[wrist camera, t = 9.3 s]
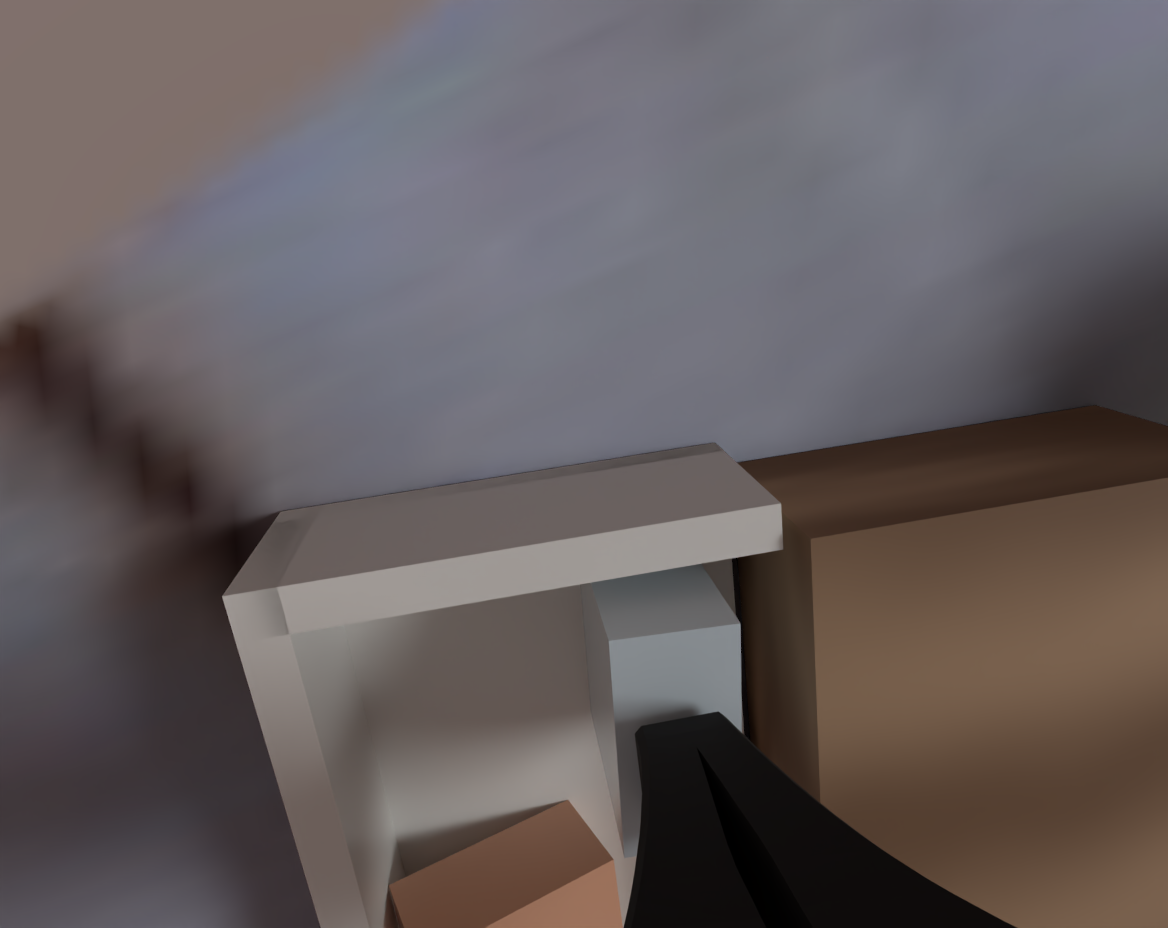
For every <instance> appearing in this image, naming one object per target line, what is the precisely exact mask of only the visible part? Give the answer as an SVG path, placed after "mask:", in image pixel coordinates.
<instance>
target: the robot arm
mask: <svg viewBox="0 0 1168 928" xmlns="http://www.w3.org/2000/svg"><path fill="white" fill-rule="evenodd" d="M635 740H636V749H637V757H638V765H639V773H640V781H641V789H642V803H641V823H640V834H639V842H638V849H637V857H636V864H635V871H634V878H633V884H632V889H631V895H630V900H629V905H628V910H627V914H626V919H625V923H624V928H1017V927H1015V926H1013V925H1011V924H1009V923H1007V922H1005V921H1003V920H1001V919H999V918H997V917H995V916H994V915H992V914H990V913H988V912H986V911H984V910H983V909H981V908H979V907H977V906H975V905H973V904H971V903H970V902H968V901H966V900H964V899H962V898H960V897H959V896H957V895H955V894H953V893H951V892H949V891H948V890H946V889H944V888H943V887H941V886H939V885H937V884H936V883H934V882H932V881H931V880H929V879H927V878H926V877H924V876H922V875H921V874H919V873H918V872H916V871H914V870H913V869H911V868H910V867H908V866H907V865H905V864H904V863H902V862H900V861H899V860H897V859H896V858H894V857H893V856H891V855H890V854H888V853H887V852H885V851H884V850H882V849H881V848H879V847H878V846H877V845H875V844H874V843H872V842H871V841H870V840H868V839H867V838H865V837H864V836H863V835H861V834H860V833H859V832H857V831H856V830H855V829H853V828H852V827H851V826H849V825H848V824H847V823H845V822H844V821H843V820H841V819H840V818H839V817H837V816H836V815H835V814H834V813H832V812H831V811H830V810H829V809H827V808H826V807H825V806H824V805H822V804H821V803H820V802H819V801H817V800H816V799H815V798H814V797H813V796H811V795H810V794H809V793H808V792H807V791H805V790H804V789H803V788H802V787H801V786H800V785H798V784H797V783H796V782H795V781H794V780H793V779H791V778H790V777H789V776H788V775H787V774H786V773H784V772H783V771H782V770H781V769H780V768H779V767H778V766H777V765H775V764H774V763H773V762H772V761H771V760H770V759H769V758H768V757H767V756H766V755H765V754H764V753H762V752H761V751H760V750H759V749H758V748H757V747H756V746H755V745H754V744H753V743H752V742H751V741H750V740H749V739H748V738H747V737H746V736H745V735H744V734H743V733H742V732H741V731H740V730H738V729H737V728H736V727H735V726H734V725H733V724H732V723H731V722H730V721H729V720H728V719H727V717H725V716H724V715H723V714H721V713H720V712H719V711H717V712H712V713H707V714H702V715H696V716H691V717H686V718H680V719H675V720H670V721H665V722H659V723H654V724H649V725H643V726H641V727H640V728H639V729H638V730H637V731H636V733H635Z"/></svg>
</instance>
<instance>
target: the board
mask: <svg viewBox="0 0 1168 928" xmlns="http://www.w3.org/2000/svg"><path fill="white" fill-rule="evenodd" d="M738 464H739V465H740V466H741V467H742V468H743V469H744V470H745V471H746V472H748V473H749V474H750V475H751V476H752V477H753V478H754V479H755V480H756V481H757V482H758V483H760V484H761V485H762V486H763V487H764V488H765V489H766V490H767V491H768V492H769V493H770V494H771V495H773V496H774V497H775V498H776V499H777V500H778V501H779V502H780V503H781V512H782V533H783V550H778V551H772V552H766V553H760V554H754V555H749V556H743V557H738V571H739V585H740V600H741V614H742V629H743V643H744V658H745V672H746V687H747V701H748V716H749V730H750V741H751V742H752V743H753V744H754V745H755V746H756V747H757V748H758V749H759V750H760V751H761V752H762V753H764V754H765V755H766V756H767V757H768V758H769V759H770V760H771V761H772V762H773V763H774V764H775V765H777V766H778V767H779V768H780V769H781V770H782V771H783V772H784V773H786V774H787V775H788V776H789V777H790V778H791V779H793V780H794V781H795V782H796V783H797V784H798V785H800V786H801V787H802V788H803V789H804V790H805V791H807V792H808V793H809V794H810V795H811V796H813V797H814V798H815V799H816V800H817V801H819V802H820V803H821V804H822V805H824V806H825V807H826V808H827V809H829V810H830V811H831V812H832V813H834V814H835V815H836V816H837V817H839V818H840V819H841V820H843V821H844V822H845V823H847V824H848V825H849V826H851V827H852V828H853V829H855V830H856V831H857V832H859V833H860V834H861V835H863V836H864V837H865V838H867V839H868V840H870V841H871V842H872V843H874V844H875V845H877V846H878V847H879V848H881V849H882V850H884V851H885V852H887V853H888V854H890V855H891V856H893V857H894V858H896V859H897V860H899V861H900V862H902V863H904V864H905V865H907V866H908V867H910V868H911V869H913V870H914V871H916V872H918V873H919V874H921V875H922V876H924V877H926V878H927V879H929V880H931V881H932V882H934V883H936V884H937V885H939V886H941V887H943V888H944V889H946V890H948V891H949V892H951V893H953V894H955V895H957V896H959V897H960V898H962V899H964V900H966V901H968V902H970V903H971V904H973V905H975V906H977V907H979V908H981V909H983V910H984V911H986V912H988V913H990V914H992V915H994V916H995V917H997V918H999V919H1001V920H1003V921H1005V922H1007V923H1009V924H1011V925H1013V926H1015V927H1017V928H1168V426H1165V425H1162V424H1159V423H1155V422H1152V421H1148V420H1145V419H1141V418H1138V417H1135V416H1131V415H1128V414H1124V413H1121V412H1117V411H1114V410H1111V409H1107V408H1104V407H1100V406H1097V405H1093V406H1087V407H1081V408H1075V409H1068V410H1062V411H1056V412H1050V413H1044V414H1037V415H1031V416H1025V417H1019V418H1013V419H1006V420H1000V421H994V422H988V423H981V424H975V425H969V426H963V427H957V428H950V429H944V430H938V431H932V432H926V433H919V434H913V435H907V436H901V437H895V438H888V439H882V440H876V441H870V442H864V443H857V444H851V445H845V446H839V447H833V448H826V449H820V450H814V451H808V452H802V453H795V454H789V455H783V456H777V457H771V458H764V459H758V460H752V461H746V462H739V463H738Z"/></svg>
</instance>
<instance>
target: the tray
mask: <svg viewBox="0 0 1168 928" xmlns="http://www.w3.org/2000/svg"><path fill="white" fill-rule="evenodd" d="M778 550H783V533H782V512H781V503H780V502H779V501H778V500H777V499H776V498H775V497H774V496H773V495H771V494H770V493H769V492H768V491H767V490H766V489H765V488H764V487H763V486H762V485H761V484H760V483H758V482H757V481H756V480H755V479H754V478H753V477H752V476H751V475H750V474H749V473H748V472H746V471H745V470H744V469H743V468H742V467H741V466H740V465H739V464H738V463H737V462H736V461H734V460H733V459H732V458H731V457H730V456H729V455H728V454H727V453H726V452H725V451H724V450H722V449H721V448H720V447H719V446H718V445H717V444H716V443H710V444H704V445H698V446H691V447H685V448H679V449H672V450H666V451H660V452H653V453H647V454H641V455H635V456H628V457H622V458H616V459H609V460H603V461H597V462H590V463H584V464H578V465H571V466H565V467H559V468H552V469H546V470H540V471H534V472H527V473H521V474H515V475H508V476H502V477H496V478H489V479H483V480H477V481H470V482H464V483H458V484H452V485H445V486H439V487H433V488H426V489H420V490H414V491H407V492H401V493H395V494H388V495H382V496H376V497H369V498H363V499H357V500H351V501H344V502H338V503H332V504H325V505H319V506H313V507H306V508H300V509H294V510H287V511H281V512H280V513H279V515H278V516H277V518H276V519H275V520H274V522H273V523H272V525H271V526H270V528H269V529H268V531H267V532H266V533H265V535H264V536H263V538H262V539H261V541H260V542H259V544H258V545H257V546H256V548H255V549H254V551H253V552H252V554H251V555H250V557H249V558H248V560H247V561H246V562H245V564H244V565H243V567H242V568H241V570H240V571H239V573H238V574H237V575H236V577H235V578H234V580H233V581H232V583H231V584H230V586H229V587H228V588H227V590H226V591H225V593H224V594H223V596H222V598H223V601H224V605H225V608H226V612H227V615H228V618H229V622H230V625H231V628H232V632H233V635H234V638H235V642H236V645H237V648H238V652H239V655H240V659H241V662H242V665H243V669H244V672H245V675H246V679H247V682H248V685H249V689H250V692H251V695H252V699H253V702H254V706H255V709H256V712H257V716H258V719H259V722H260V726H261V729H262V732H263V736H264V739H265V743H266V746H267V749H268V753H269V756H270V759H271V763H272V766H273V769H274V773H275V776H276V779H277V783H278V786H279V790H280V793H281V796H282V800H283V803H284V806H285V810H286V813H287V816H288V820H289V823H290V827H291V830H292V833H293V837H294V840H295V843H296V847H297V850H298V853H299V857H300V860H301V863H302V867H303V870H304V874H305V877H306V880H307V884H308V887H309V890H310V894H311V897H312V900H313V904H314V907H315V911H316V914H317V917H318V921H319V924H320V927H321V928H399V925H398V921H397V917H396V913H395V909H394V905H393V901H392V897H391V893H390V889H389V885H390V884H392V883H394V882H396V881H399V880H401V879H403V878H405V877H407V876H409V875H411V874H413V873H415V872H417V871H420V870H422V869H424V868H426V867H428V866H430V865H432V864H434V863H436V862H438V861H440V860H443V859H445V858H447V857H449V856H451V855H453V854H455V853H457V852H459V851H461V850H464V849H466V848H468V847H470V846H472V845H474V844H476V843H478V842H480V841H482V840H484V839H487V838H489V837H491V836H493V835H495V834H497V833H499V832H501V831H503V830H505V829H507V828H510V827H512V826H514V825H516V824H518V823H520V822H522V821H524V820H526V819H528V818H531V817H533V816H535V815H537V814H539V813H541V812H543V811H545V810H547V809H549V808H551V807H554V806H556V805H558V804H560V803H562V802H564V801H566V800H569V801H570V803H571V804H572V805H573V807H574V808H575V809H576V811H577V812H578V813H579V815H580V816H581V817H582V819H583V820H584V821H585V822H586V824H587V825H588V826H589V828H590V829H591V830H592V832H593V833H594V834H595V836H596V837H597V838H598V840H599V841H600V842H601V843H602V845H603V846H604V847H605V849H606V850H607V851H608V853H609V854H610V855H611V857H612V858H613V859H614V866H615V873H616V880H617V888H618V895H619V902H620V910H621V917H622V925H623V928H624V923H625V919H626V914H627V910H628V905H629V900H630V895H631V889H632V884H633V878H634V871H635V864H636V857H637V856H634V857H628V858H624V854H623V850H622V846H621V841H620V837H619V833H618V828H617V824H616V820H615V815H614V811H613V807H612V802H611V798H610V794H609V789H608V785H607V781H606V776H605V772H604V768H603V763H602V759H601V755H600V750H599V746H598V742H597V737H596V733H595V729H594V724H593V720H592V716H591V710H590V698H589V686H588V674H587V661H586V649H585V637H584V625H583V613H582V601H581V589H580V584H586V583H592V582H597V581H603V580H609V579H615V578H621V577H626V576H632V575H638V574H644V573H650V572H655V571H661V570H667V569H673V568H679V567H685V566H690V565H696V564H702V566H703V567H704V569H705V570H706V572H707V573H708V575H709V576H710V578H711V579H712V581H713V582H714V584H715V585H716V587H717V588H718V590H719V592H720V593H721V595H722V596H723V598H724V599H725V601H726V602H727V604H728V605H729V607H730V608H731V610H732V611H733V613H734V614H735V616H736V611H735V597H734V583H733V569H732V558H737V557H743V556H749V555H754V554H760V553H766V552H772V551H778ZM742 733H743V734H744V723H743V709H742Z"/></svg>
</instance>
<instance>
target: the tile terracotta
mask: <svg viewBox="0 0 1168 928" xmlns="http://www.w3.org/2000/svg"><path fill="white" fill-rule="evenodd" d="M389 889H390V893H391V897H392V901H393V905H394V909H395V913H396V917H397V921H398V925H399V928H623V925H622V917H621V910H620V902H619V895H618V888H617V880H616V873H615V866H614V859H613V858H612V857H611V855H610V854H609V853H608V851H607V850H606V849H605V847H604V846H603V845H602V843H601V842H600V841H599V840H598V838H597V837H596V836H595V834H594V833H593V832H592V830H591V829H590V828H589V826H588V825H587V824H586V822H585V821H584V820H583V819H582V817H581V816H580V815H579V813H578V812H577V811H576V809H575V808H574V807H573V805H572V804H571V803H570V801H569V800H566V801H564V802H562V803H560V804H558V805H556V806H554V807H551V808H549V809H547V810H545V811H543V812H541V813H539V814H537V815H535V816H533V817H531V818H528V819H526V820H524V821H522V822H520V823H518V824H516V825H514V826H512V827H510V828H507V829H505V830H503V831H501V832H499V833H497V834H495V835H493V836H491V837H489V838H487V839H484V840H482V841H480V842H478V843H476V844H474V845H472V846H470V847H468V848H466V849H464V850H461V851H459V852H457V853H455V854H453V855H451V856H449V857H447V858H445V859H443V860H440V861H438V862H436V863H434V864H432V865H430V866H428V867H426V868H424V869H422V870H420V871H417V872H415V873H413V874H411V875H409V876H407V877H405V878H403V879H401V880H399V881H396V882H394V883H392V884H390V885H389Z"/></svg>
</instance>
